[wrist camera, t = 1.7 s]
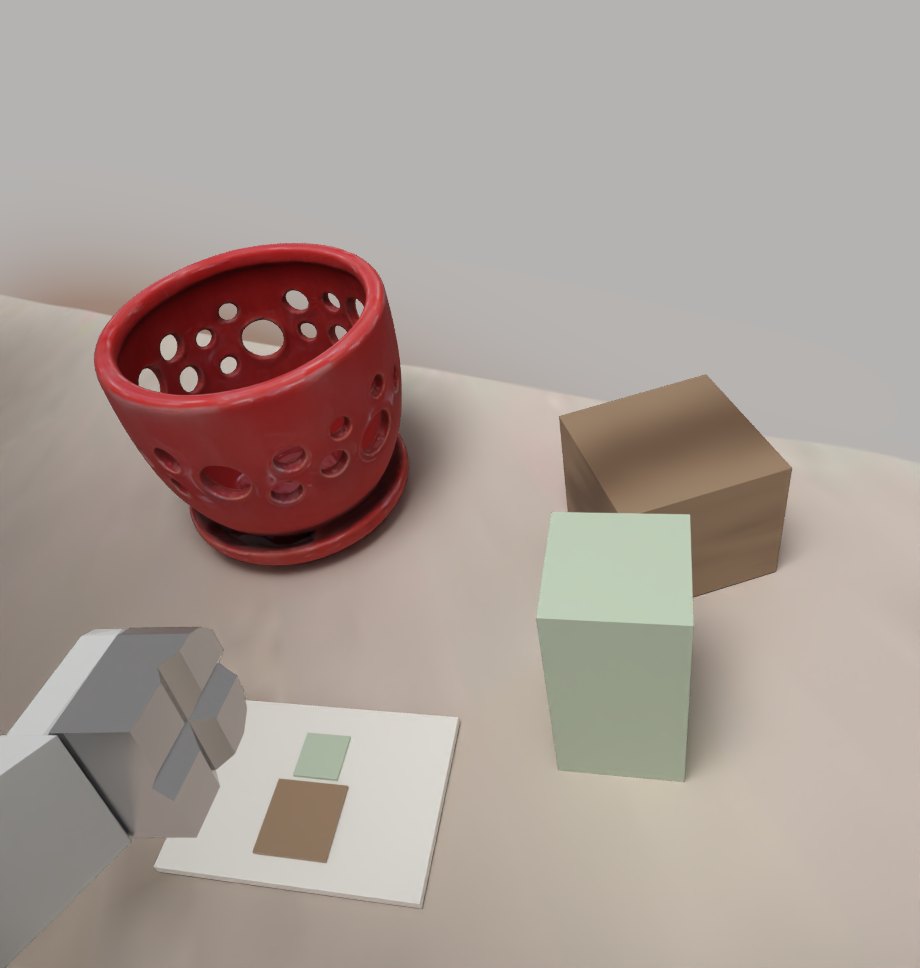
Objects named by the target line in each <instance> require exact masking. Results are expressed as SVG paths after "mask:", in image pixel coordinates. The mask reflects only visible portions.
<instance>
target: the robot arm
mask: <svg viewBox="0 0 920 968" xmlns="http://www.w3.org/2000/svg"><path fill="white" fill-rule="evenodd" d="M223 651H224V649H223V647H222V646H221V644H220V642H219V640H218V638H217V637H216V635H215V633H214V631H213V630H211V629H207V628H203V627H153V628H129V629H94V630H92V631H90V632H88V633H86V634H84V635H82V636H81V637H80V638H79V640H78V641H77V642H76V644H75V645H74V646H73V648H72V649H71V650H70V652H69V653H68V654H67V656H66V657H65V658H64V659H63V661H62V662H61V663H60V665H59V666H58V667H57V669H56V670H55V671H54V673H53V674H52V675H51V677H50V678H49V679H48V681H47V682H46V683H45V685H44V686H43V687H42V689H41V690H40V691H39V692H38V694H37V695H36V696H35V698H34V699H33V700H32V702H31V703H30V704H29V706H28V707H27V708H26V710H25V711H24V712H23V714H22V715H21V716H20V718H19V719H18V720H17V721H16V723H15V724H14V725H13V727H12V728H11V729H10V731H9V732H8V733H7V735H0V968H5V967H6V966H7V965H8V964H9V963H10V962H11V961H12V960H13V959H14V958H15V957H16V956H17V955H18V954H19V953H20V952H21V951H22V950H23V949H24V948H25V947H26V946H27V945H28V944H29V943H30V942H31V941H32V940H33V939H34V938H35V937H36V936H37V935H38V934H39V933H40V932H41V931H42V930H43V929H44V928H45V927H46V926H47V925H48V924H49V923H50V922H52V921H53V920H54V919H55V918H56V917H57V916H58V915H59V914H60V913H61V912H62V911H63V910H64V909H65V908H66V907H67V906H68V905H69V904H70V903H71V902H72V901H73V900H74V899H75V898H76V897H77V896H78V895H79V894H80V893H81V892H82V891H83V890H84V889H85V888H86V887H87V886H88V885H89V884H90V883H91V882H92V881H93V880H94V879H95V878H96V877H97V876H98V875H99V874H100V873H101V872H102V871H103V870H104V869H105V868H106V867H107V866H108V865H109V864H110V863H111V862H112V861H113V860H114V859H115V858H116V857H117V856H118V855H119V854H120V853H121V852H122V851H123V850H124V849H125V848H126V847H127V846H128V845H129V844H130V843H131V839H130V838H197V836H198V833H199V831H200V829H201V827H202V825H203V823H204V820H205V818H206V816H207V814H208V812H209V810H210V808H211V805H212V803H213V801H214V799H215V797H216V795H217V792H218V790H219V788H220V784H219V780H218V776H217V772H216V770H217V769H218V768H219V767H220V766H221V765H223V764H224V763H225V762H226V761H227V760H228V759H230V758H231V757H232V756H233V755H234V754H235V753H236V751H237V748H238V746H239V744H240V741H241V739H242V737H243V734H244V729H245V721H246V713H247V705H246V700H245V694H244V690H243V688H242V686H241V684H240V682H239V679H238V677H237V676H236V675H235V674H233V673H232V672H231V671H229V670H228V669H226V668H225V667H224V666H222V665H221V664H220V663H219V661H220V659H221V656H222V653H223Z"/></svg>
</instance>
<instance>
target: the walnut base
mask: <svg viewBox="0 0 920 968" xmlns="http://www.w3.org/2000/svg"><path fill="white" fill-rule="evenodd" d="M559 420H560V431H561V442H562V453H563V464H564V475H565V486H566V496H567V507H568V512H582V513H637V514H690V529H691V561H692V593H693V597H695V596H698V595H701V594H705V593H708V592H711V591H714V590H718V589H721V588H724V587H727V586H730V585H734V584H737V583H740V582H743V581H747V580H750V579H753V578H756V577H759V576H763V575H766V574H769V573H772V572H776V568H777V561H778V555H779V549H780V542H781V536H782V530H783V523H784V517H785V510H786V504H787V498H788V491H789V485H790V479H791V472H792V467H791V466H790V465H789V464H788V463H787V462H786V461H785V460H784V459H783V458H782V456H781V455H780V454H779V453H778V452H777V451H776V450H775V449H774V448H773V447H772V446H771V444H770V443H769V442H768V441H767V440H766V439H765V438H764V437H763V436H762V435H761V434H760V432H759V431H758V430H757V429H756V428H755V427H754V426H753V425H752V424H751V423H750V422H749V420H748V419H747V418H746V417H745V416H744V415H743V414H742V413H741V412H740V411H739V410H738V409H737V407H736V406H735V405H734V404H733V403H732V402H731V401H730V400H729V399H728V398H727V397H726V395H725V394H724V393H723V392H722V391H721V390H720V389H719V388H718V387H717V386H716V385H715V383H714V382H713V381H712V380H711V379H710V378H709V377H708V376H707V375H702V376H699V377H695V378H692V379H688V380H685V381H681V382H678V383H674V384H671V385H667V386H664V387H660V388H657V389H653V390H650V391H646V392H643V393H639V394H635V395H632V396H628V397H625V398H621V399H618V400H615V401H611V402H607V403H604V404H600V405H597V406H593V407H590V408H586V409H583V410H579V411H576V412H572V413H569V414H565V415H562V416H559Z"/></svg>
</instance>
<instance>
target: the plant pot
mask: <svg viewBox="0 0 920 968" xmlns="http://www.w3.org/2000/svg"><path fill="white" fill-rule="evenodd" d="M291 290H296V291H299V292H301V293H302V294H304V295H305V296H306V297H307V300H308V302H309V304H308V308H306V309H304V310H298V309H295V308H293V307H292V306H291V305H290V304H289V303H288V302H287V300H286V294H287V292H289V291H291ZM328 293H331V294H333V295H335V296H336V298H337V299H338V300H339V303H340V308H337V307H335V306H334V305H333V304H332V303H331V302H330V300H329V298H328ZM356 299H358V300H359V301H360V302H361V303H362V304H363V306H364V309H363V312H362V314H361V316H360V317H359V315H358V313H357V310H356V305H355V301H356ZM226 303H232V304H234V305H235V306H236V307H237V314H236V316H235V317H234V318H232V319H231V320H224V319H222V318H221V317H220V316H219V308H220V307H221V306H222V305H223V304H226ZM258 320H269V321H271V322H273V323H274V324H276V325H277V326H278V327H279V328H280V329H281V331H282V333H283V336H284V342H283V345H282V347H281V348H280V349H279V350H278V351H277V352H275V353H273V354H272V355H267V356H260V355H256V354H254V353H252V352H250V351H248V350H247V349H246V348H245V346H244V345H243V342H242V332H243V330H244V329H245V328H246V327H247V326H248V325H249V324H250V323H252V322H255V321H258ZM303 323H310V324H312V325H313V326H315V328H316V330H317V335H316V337H315V338H308V337H306V336H305V335H303V334H302V332H301V329H300V327H301V325H302V324H303ZM337 325H338V326H341V327H343V328H344V329H345V330H346V331H347V333H346V334H345V335H344V336H343V337H342V338H341V339H340V340H338V338H337V336H336V334H335V327H336V326H337ZM204 329H206V330H209V331H210V332H211V335H212V338H211V341H210V343H209V344H208V345H207V346H205V347H200V346H198V344H197V342H196V337H197V334H198V333H199V332H200V331H202V330H204ZM170 334H171V335H173V336H174V338H175V339H176V341H177V352H176V354H175V356H174V357H173V358H172V359H171V360H165V359H164V358H163V357H162V355H161V352H160V343H161V341H162V339H163V338H164V337H165V336H167V335H170ZM226 357H233V358H234V359H235V360H236V362H237V366H236V369H235V370H234V371H233V372H232V373H230V374H225V373H223V372H222V371H221V368H220V363H221V362H222V360H223V359H225V358H226ZM94 364H95V371H96V374H97V378H98V381H99V383H100V385H101V387H102V389H103V391H104V393H105V395H106V396H107V398H108V400H109V402H110V404H111V406H112V408H113V410H114V411H115V413H116V415H117V417H118V418H119V420H120V422H121V423H122V425H123V427H124V428H125V430H126V432H127V433H128V435H129V436H130V438H131V440H132V441H133V442H134V444H135V445H136V447H137V448H138V450H139V451H140V453H141V454H142V455H143V457H144V458H145V460H146V461H147V462H148V464H149V465H150V466H151V467H152V469H153V470H154V471H155V472H156V474H157V475H158V476H159V477H160V478H161V479H162V480H163V481H164V483H165V484H166V485H167V486H168V487H169V488H170V489H171V490H172V491H173V492H174V493H175V494H176V495H178V496H179V497H180V498H181V499H182V500H183V501H185V502H186V503H187V504H188V505H190V513H191V517H192V520H193V523H194V525H195V527H196V529H197V531H198V532H199V533H200V535H201V536H202V537H203V538H204V540H205V541H206V542H207V543H209V544H210V545H211V546H212V547H213V548H215V549H216V550H218V551H219V552H221V553H223V554H225V555H227V556H230V557H232V558H234V559H237V560H240V561H244V562H249V563H253V564H261V565H291V564H299V563H304V562H308V561H313V560H317V559H320V558H323V557H326V556H328V555H331V554H333V553H336V552H338V551H340V550H342V549H344V548H346V547H348V546H350V545H352V544H354V543H355V542H357V541H359V540H360V539H362V538H363V537H365V536H366V535H367V534H369V533H370V532H371V531H372V530H374V529H375V528H376V527H377V526H378V525H379V524H380V523H381V522H382V521H383V520H384V519H385V518H386V517H387V515H388V514H389V513H390V512H391V511H392V509H393V508H394V507H395V505H396V503H397V501H398V500H399V498H400V496H401V494H402V492H403V490H404V487H405V484H406V481H407V476H408V455H407V451H406V447H405V445H404V442H403V440H402V438H401V436H400V435H399V433H398V431H399V425H400V417H401V368H400V358H399V351H398V345H397V339H396V334H395V329H394V324H393V319H392V316H391V311H390V307H389V303H388V299H387V295H386V292H385V288H384V285H383V282H382V280H381V278H380V276H379V275H378V273H377V272H376V270H375V269H374V268H373V267H372V266H371V265H370V264H369V263H367V262H366V261H365V260H363V259H362V258H360V257H359V256H357V255H355V254H352V253H349V252H347V251H344V250H342V249H338V248H335V247H331V246H325V245H317V244H305V243H304V244H303V243H302V244H301V243H285V244H284V243H283V244H270V245H260V246H253V247H248V248H242V249H237V250H233V251H229V252H226V253H223V254H219V255H216V256H213V257H210V258H208V259H204V260H202V261H199V262H197V263H194V264H191V265H189V266H187V267H184V268H183V269H180V270H178V271H176V272H174V273H172V274H170V275H168V276H166V277H164V278H162V279H160V280H158V281H157V282H155V283H153V284H152V285H150V286H149V287H147V288H146V289H144V290H143V291H141V292H140V293H138V294H137V295H136V296H135V297H133V298H132V299H131V300H129V301H128V302H127V303H126V304H125V305H124V306H123V307H122V308H121V309H120V310H119V311H118V312H117V313H116V314H115V315H114V316H113V317H112V318H111V320H110V321H109V322H108V323H107V325H106V326H105V328H104V329H103V331H102V333H101V335H100V337H99V339H98V342H97V344H96V349H95V352H94ZM189 366H190V367H192V368H193V369H194V370H195V371H196V372H197V375H198V383H197V385H196V387H195V389H194V390H193V391H191V392H186V391H185V390H184V389H183V388H182V386H181V383H180V374H181V372H182V371H183V370H184V369H185V368H186V367H189ZM145 368H149V369H150V370H152V371H153V372H154V373H155V375H156V377H157V379H158V381H159V384H160V392H155V391H151V390H148V389H145V388H142V387H140V386H139V383H138V379H139V375H140V373H141V371H142V370H143V369H145Z"/></svg>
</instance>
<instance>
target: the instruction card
mask: <svg viewBox="0 0 920 968" xmlns="http://www.w3.org/2000/svg"><path fill="white" fill-rule="evenodd" d="M246 705H247V713H246V721H245V729H244V734H243V737H242V739H241V741H240V744H239V746H238V748H237V751H236V753H235V754H234V755H233V756H232V757H231V758H230V759H228V760H227V761H226V762H225V763H224V764H223V765H221V766H220V767H219V768H218V769H217V770H216V772H217V776H218V780H219V784H220V788H219V790H218V792H217V795H216V797H215V799H214V801H213V803H212V805H211V808H210V810H209V812H208V814H207V816H206V818H205V820H204V823H203V825H202V827H201V829H200V831H199V833H198V836H197V838H166V840H165V842H164V845H163V847H162V849H161V851H160V854H159V856H158V858H157V860H156V863H155V865H154V868H155V869H156V870H157V871H158V872H164V873H171V874H178V875H185V876H192V877H199V878H207V879H214V880H221V881H228V882H235V883H242V884H249V885H256V886H263V887H271V888H278V889H285V890H292V891H299V892H306V893H313V894H320V895H328V896H335V897H342V898H349V899H356V900H363V901H370V902H377V903H385V904H392V905H399V906H406V907H413V908H420V909H422V906H423V901H424V896H425V891H426V886H427V881H428V876H429V872H430V867H431V862H432V857H433V852H434V847H435V842H436V837H437V832H438V827H439V823H440V818H441V813H442V808H443V803H444V798H445V793H446V788H447V783H448V778H449V774H450V769H451V764H452V759H453V754H454V749H455V744H456V739H457V734H458V729H459V725H460V722H459V718H458V717H448V716H436V715H423V714H411V713H399V712H386V711H374V710H361V709H349V708H337V707H324V706H312V705H300V704H287V703H275V702H263V701H250V700H246Z"/></svg>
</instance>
